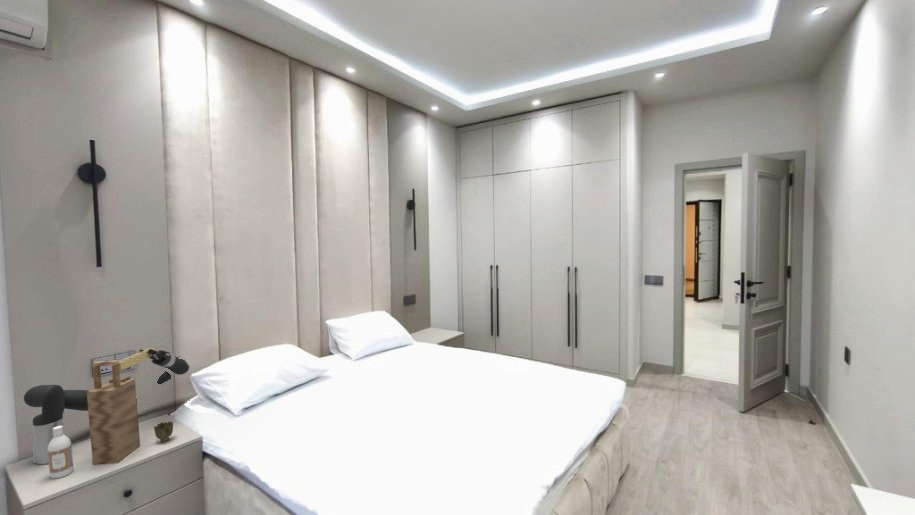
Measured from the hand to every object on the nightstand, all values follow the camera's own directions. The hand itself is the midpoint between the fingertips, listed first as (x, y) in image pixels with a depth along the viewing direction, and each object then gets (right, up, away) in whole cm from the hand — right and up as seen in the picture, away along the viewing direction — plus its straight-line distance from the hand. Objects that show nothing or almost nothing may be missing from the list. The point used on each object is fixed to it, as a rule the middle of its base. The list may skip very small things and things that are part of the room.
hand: (144, 351), depth 198 cm
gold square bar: (+1, -4, -6) cm, 7 cm away
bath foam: (-7, -43, -34) cm, 55 cm away
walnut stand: (+4, -42, -21) cm, 47 cm away
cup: (+17, -41, -9) cm, 45 cm away
